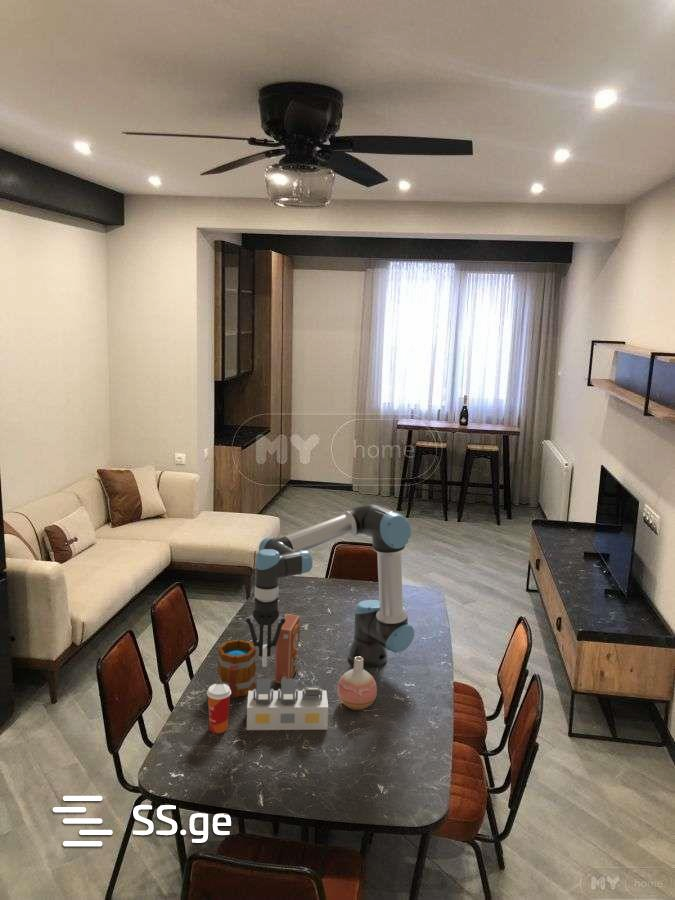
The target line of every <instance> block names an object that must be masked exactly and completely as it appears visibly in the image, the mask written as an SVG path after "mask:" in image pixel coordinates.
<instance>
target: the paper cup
mask: <svg viewBox="0 0 675 900" xmlns="http://www.w3.org/2000/svg"><path fill="white" fill-rule="evenodd" d="M206 695H207V702H208V704H207V705H208V706H207V707H208V719H209V721H208V722H209V730H210V732H211V733H213V734H223V733H226V731H227V730H228V725H229V714H230V713H229V712H230V701H231V697H230V695H231V690H230V687H229V686H228V685H226V684H218V683H214V684H212V685H210V686H209V687H208V689H207V691H206Z"/></svg>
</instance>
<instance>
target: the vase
mask: <svg viewBox="0 0 675 900" xmlns="http://www.w3.org/2000/svg"><path fill="white" fill-rule="evenodd" d="M377 694H378V687H377V682H376V680H375V678H374V677H373V675H372V674H370V672H368V671H367V670H366V669H364V667H363V658H362V657H359V656H358V657H355V659H354V663H353V668H351V669H349V670H348V671H345V673H343V675H341V677H340V679H339V680H338V683H337V696H338V698H339V701H341V703H342V704H343V705H344V706H346V707H347V708H348V709H350V710H353V711H362V710H364V709H366V708H368V707H370V706H371V705H372V704H373V703H374V701H375V700H376V698H377Z"/></svg>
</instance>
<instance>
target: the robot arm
mask: <svg viewBox="0 0 675 900" xmlns="http://www.w3.org/2000/svg"><path fill="white" fill-rule="evenodd" d="M357 535H366V536H368V537H370V538H372V539H371V540H372V541H371V543H372V550H373V551H374V552H376V553H377V556H376V557H377V576H378V595H379V598H378V599H379V600H378V599H366V600H365V599H364V600H362V601H359V602H358V603H356V606H355V609H354V610H355V611H354V627H353V629H354V630H353V632H354V633H353V639H352V642H351V645H350V647H349V649H348V657H347V658H348V659H349V661H351V662H352V664H354V659H355V657H358V656H359V657H362V658H363V668H375V667H380V666H383V665H384V664H385V663H387V661H388V652H387V651H390V652H392V653H395V654H399V653H402V652H405V651H406V650H407V649H408V648H409V647H410V645H411V644H412V643H413V641H414V638H415V629H414V627H413V626H412V625H411V624H409V622H408V621H409V619H408V618H409V617H408V611H406V610H405V609H404V599H403V598H404V597H403V596H404V595H403V594H404V593H403V573H402V572H403V569H402V568H403V567H402V551H404V550H405V548H406V545H407V544H408V543H409V539H410V538H411V537H412V536H411V535H412V527H411V523H410V521H409V519H407V518H406V517H405V516H404V515H402V514H400V513H399V512H396V511H392V510H390V509H388V508H387V507H384V506H381V505H378V504H373V503H371V504H370V503H369V504H363V505H358V506H354V507H351V508H348V509H347V510H344V511H342V512H341V514H340V515H338V516H335V517H332V518H330V519H327V520H325V521H321V522H319V523H317V524H315V525H311V526H309V527H305V528H303V529H300V530H297V531H295V532H293V533H290V534H287V535H284V536H282V537H278V538H275V537H271V536H270V537H269V536H268V537H265V538H264V539H262V540H261V541H260V542H259V546H258V551H257V553H256V555H255V562H254V563H255V564H254V567H255V568H254V569H255V572H254V573H255V575H254V577H255V578H254V579H255V580H254V609H253V612H252V614H250V615H246V618H245V622H246V624H247V625H248V627H249V632H250V635H251V639H252V643H253V645H254V646H255V647H258V656H259V657H261V659H262V661H261V662H262V663H261V664H262V665H261V667H262V668H267V667H268V666H267V665H268V657H271V656H272V654H271V652H272V650H271V649H272V647H275V646H276V645H277V641H278V638H279V634H280V631H281V628H282V625H283V624H284V623H285V615H281V614H280V612H279V609H278V608H279V607H278V606H279V598H278V597H279V582H280V579H285V578H287V577H293V576H299V575H300V576H301V575H303V574H306V573H308V572H310V571H312V569H313V558H312V555H311V552H309V551H310V550H313V549H315V548H318V547H320V546H323V545H326V544H328V543H330V542H333V541H336V540H338V539H341V538H344V537H346V536H350V537H354V536H357ZM254 621H256V623H257V624H258V625H259V635H258V636H259V639H258V636H257V633H256V629H255V624H254ZM276 621H277V624H276V628H275V629H276V632H275V631H274V634H273V635H274V636H273V639H272V625H274V623H275V622H276ZM264 626H267V636H266V637H267V640H266V644H264Z"/></svg>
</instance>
